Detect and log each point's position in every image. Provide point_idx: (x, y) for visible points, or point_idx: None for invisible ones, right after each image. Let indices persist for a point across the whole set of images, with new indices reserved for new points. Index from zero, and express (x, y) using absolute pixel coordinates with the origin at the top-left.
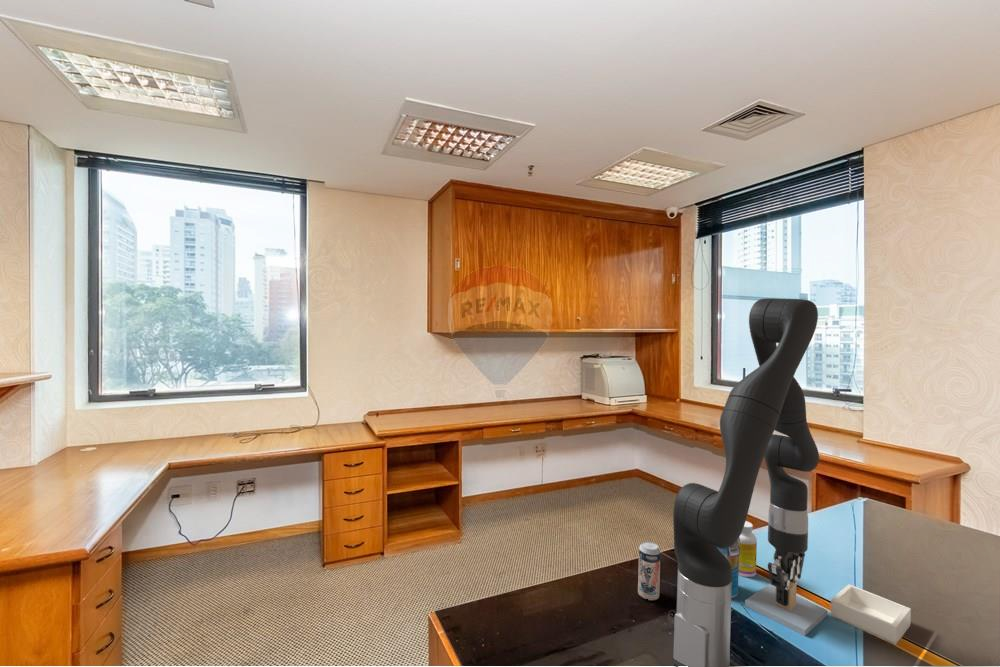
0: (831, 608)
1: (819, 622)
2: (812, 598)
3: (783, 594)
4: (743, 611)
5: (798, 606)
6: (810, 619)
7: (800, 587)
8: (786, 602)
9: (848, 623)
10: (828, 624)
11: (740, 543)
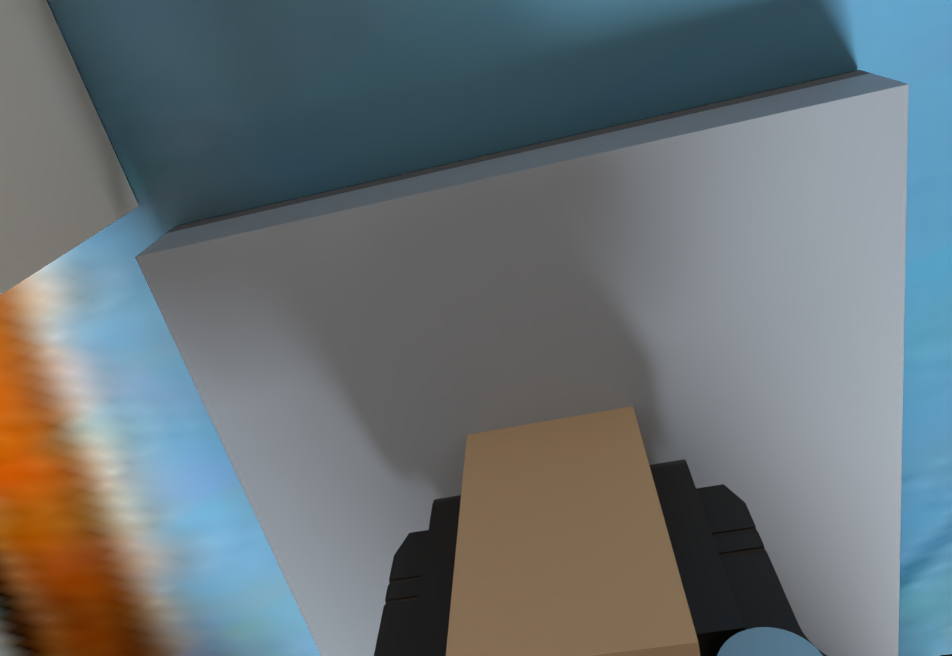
0: (73, 237)
1: (397, 179)
2: (39, 472)
3: (778, 591)
4: (947, 576)
5: (439, 421)
6: (572, 208)
7: (9, 604)
8: (693, 490)
9: (38, 17)
10: (290, 131)
11: None
